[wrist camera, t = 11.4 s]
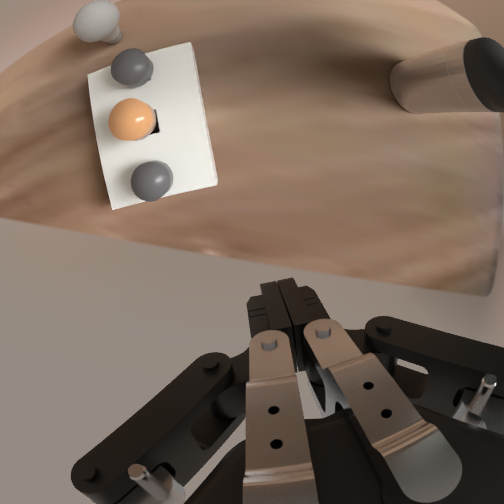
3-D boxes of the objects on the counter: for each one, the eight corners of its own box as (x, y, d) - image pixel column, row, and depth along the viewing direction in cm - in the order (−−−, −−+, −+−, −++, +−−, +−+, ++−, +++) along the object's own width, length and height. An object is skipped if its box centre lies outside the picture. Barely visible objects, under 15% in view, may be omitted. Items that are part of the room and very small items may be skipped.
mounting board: (194, 53, 32) (190, 41, 28) (217, 180, 39) (216, 185, 34) (102, 81, 32) (87, 74, 27) (124, 202, 39) (112, 209, 34)
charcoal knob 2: (176, 155, 37) (163, 157, 29) (183, 186, 38) (172, 196, 30) (146, 162, 37) (126, 167, 29) (153, 193, 38) (135, 205, 30)
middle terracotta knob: (163, 104, 31) (145, 92, 24) (169, 136, 33) (152, 133, 25) (130, 113, 31) (105, 106, 23) (136, 145, 33) (112, 145, 25)
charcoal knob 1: (160, 62, 32) (144, 43, 24) (164, 90, 33) (149, 76, 25) (130, 71, 32) (109, 56, 24) (134, 98, 33) (112, 88, 25)
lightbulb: (131, 54, 31) (103, 29, 21) (94, 58, 30) (59, 38, 20) (139, 20, 29) (115, -12, 19) (102, 24, 28) (72, -2, 18)
